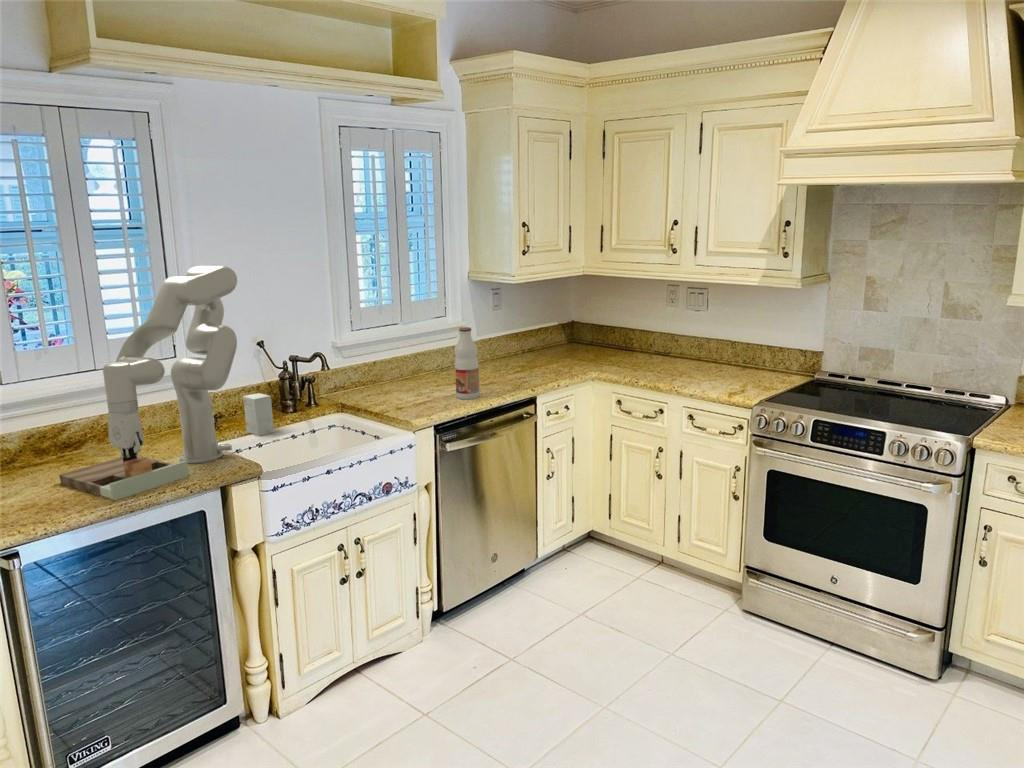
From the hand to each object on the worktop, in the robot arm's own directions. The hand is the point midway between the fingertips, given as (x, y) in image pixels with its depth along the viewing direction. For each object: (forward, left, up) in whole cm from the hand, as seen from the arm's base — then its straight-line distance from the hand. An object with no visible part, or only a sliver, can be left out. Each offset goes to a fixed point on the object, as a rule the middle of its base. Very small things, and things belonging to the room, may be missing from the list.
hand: (131, 469), depth 217 cm
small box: (-30, -45, -4) cm, 54 cm away
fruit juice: (-107, -74, -4) cm, 130 cm away
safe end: (-4, +3, -4) cm, 6 cm away
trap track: (+6, -6, -4) cm, 9 cm away
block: (-3, +4, -1) cm, 5 cm away
